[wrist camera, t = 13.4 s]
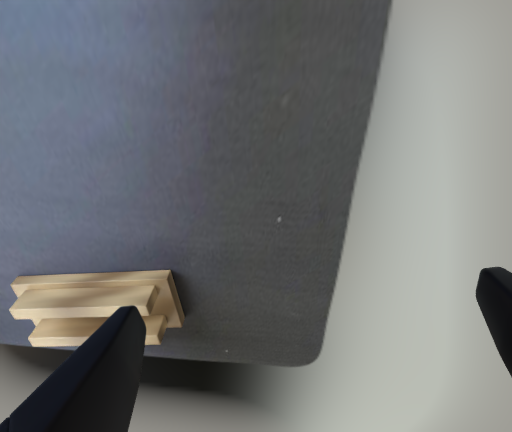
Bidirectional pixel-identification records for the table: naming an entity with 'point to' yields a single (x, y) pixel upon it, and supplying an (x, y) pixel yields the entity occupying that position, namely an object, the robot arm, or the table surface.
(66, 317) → the stand
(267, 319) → the table surface
